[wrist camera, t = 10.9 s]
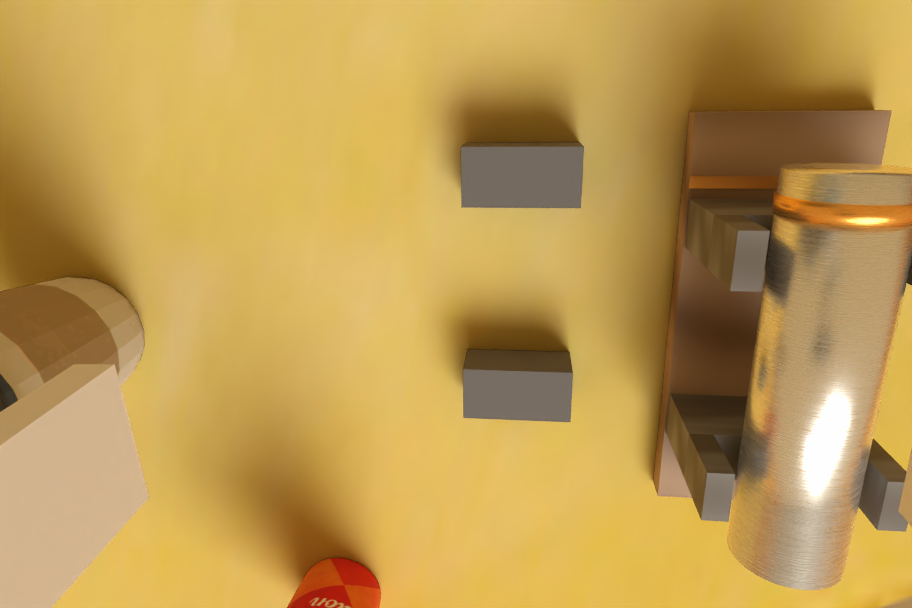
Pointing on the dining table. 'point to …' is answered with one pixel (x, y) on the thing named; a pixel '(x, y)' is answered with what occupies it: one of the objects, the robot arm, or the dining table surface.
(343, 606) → the paper cup
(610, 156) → the dining table surface
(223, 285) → the dining table surface
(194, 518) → the dining table surface
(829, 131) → the dark grey notched piece
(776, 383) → the silver metal cylinder
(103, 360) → the coffee cup
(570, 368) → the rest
